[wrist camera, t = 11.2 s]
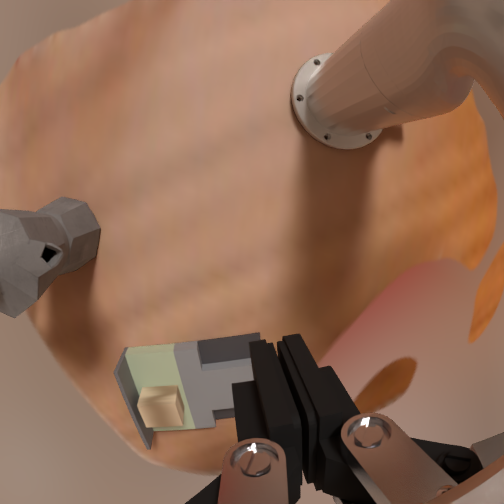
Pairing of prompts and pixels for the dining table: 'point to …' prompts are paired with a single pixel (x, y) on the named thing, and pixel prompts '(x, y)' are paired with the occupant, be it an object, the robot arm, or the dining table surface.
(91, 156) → the dining table surface
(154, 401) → the maple block
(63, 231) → the coffeepot
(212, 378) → the multicoloured piece
